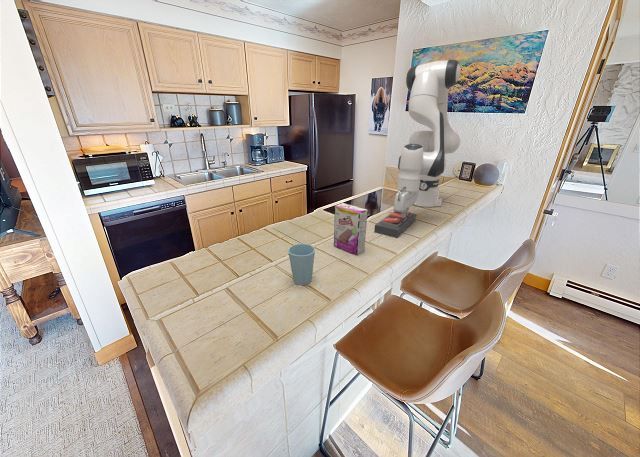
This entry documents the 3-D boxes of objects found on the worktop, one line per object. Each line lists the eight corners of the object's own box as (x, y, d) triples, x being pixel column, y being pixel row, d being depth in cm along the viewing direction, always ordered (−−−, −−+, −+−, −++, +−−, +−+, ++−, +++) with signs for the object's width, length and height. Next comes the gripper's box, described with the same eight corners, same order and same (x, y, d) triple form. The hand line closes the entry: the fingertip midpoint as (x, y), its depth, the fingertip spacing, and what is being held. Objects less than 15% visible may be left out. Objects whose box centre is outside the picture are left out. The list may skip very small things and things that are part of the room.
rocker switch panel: (397, 214, 134) (398, 206, 133) (417, 218, 129) (419, 210, 127) (374, 232, 113) (375, 222, 112) (396, 238, 108) (398, 228, 106)
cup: (316, 287, 77) (315, 255, 73) (289, 288, 76) (287, 256, 72) (314, 273, 84) (314, 243, 80) (290, 274, 83) (288, 244, 79)
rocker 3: (397, 209, 126) (398, 207, 125) (409, 214, 123) (410, 212, 123) (395, 211, 124) (395, 209, 123) (407, 216, 121) (408, 214, 120)
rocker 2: (391, 214, 121) (392, 212, 120) (404, 217, 118) (405, 215, 117) (389, 216, 118) (389, 213, 118) (402, 219, 115) (402, 217, 115)
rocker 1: (385, 220, 116) (385, 218, 115) (399, 220, 112) (399, 218, 112) (383, 222, 113) (382, 220, 113) (396, 222, 110) (396, 220, 109)
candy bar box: (332, 246, 101) (333, 205, 94) (341, 242, 104) (342, 202, 98) (357, 256, 94) (359, 212, 87) (365, 251, 97) (368, 209, 91)
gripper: (407, 191, 101) (403, 225, 106) (422, 182, 116) (417, 212, 122) (391, 188, 104) (388, 221, 109) (408, 180, 120) (404, 209, 125)
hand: (403, 216), depth 116 cm, fingers closed, pressing on rocker 2
